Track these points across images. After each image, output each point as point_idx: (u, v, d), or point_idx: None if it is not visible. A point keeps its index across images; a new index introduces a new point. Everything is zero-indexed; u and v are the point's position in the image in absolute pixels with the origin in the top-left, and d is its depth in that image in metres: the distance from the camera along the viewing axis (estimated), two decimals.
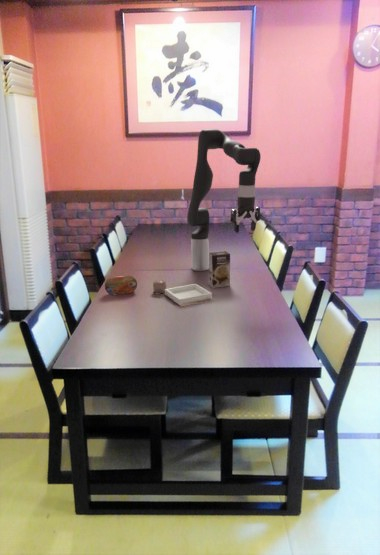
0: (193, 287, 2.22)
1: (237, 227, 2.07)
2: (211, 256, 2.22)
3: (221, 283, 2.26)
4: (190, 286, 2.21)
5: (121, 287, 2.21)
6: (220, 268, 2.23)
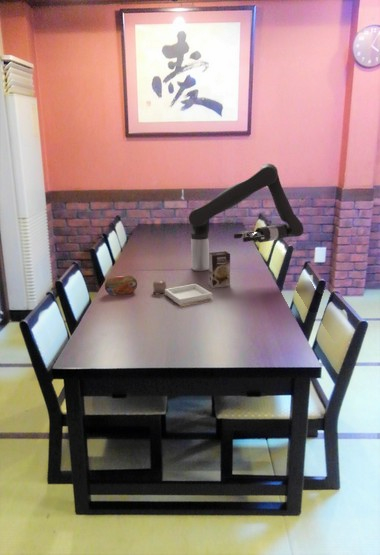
0: (193, 287, 2.22)
1: (248, 240, 2.24)
2: (211, 256, 2.22)
3: (222, 283, 2.26)
4: (190, 286, 2.21)
5: (121, 287, 2.21)
6: (220, 268, 2.23)
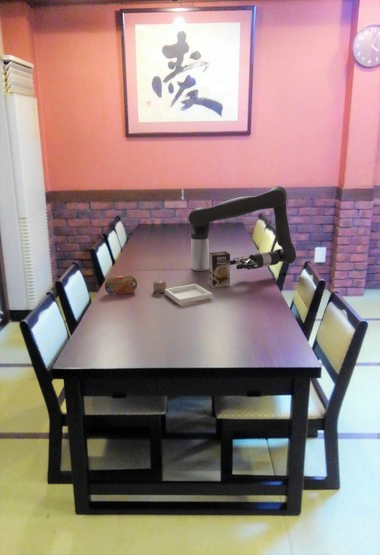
0: (193, 287, 2.22)
1: None
2: (211, 256, 2.22)
3: (221, 283, 2.26)
4: (190, 286, 2.21)
5: (121, 287, 2.21)
6: (220, 268, 2.23)
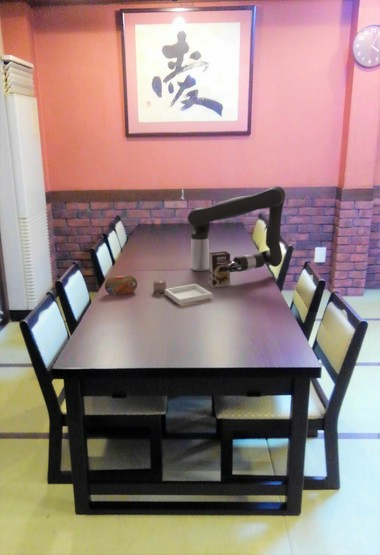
0: (193, 287, 2.22)
1: None
2: (211, 256, 2.22)
3: (221, 283, 2.26)
4: (190, 286, 2.21)
5: (121, 287, 2.21)
6: None
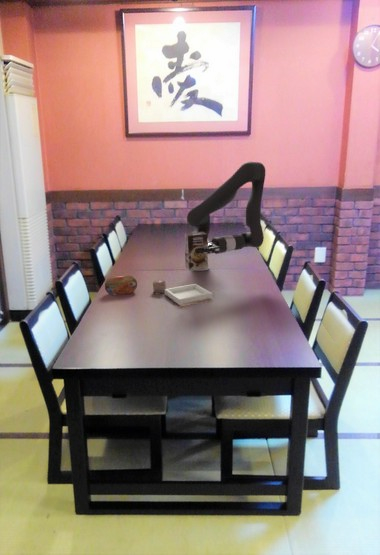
0: (193, 287, 2.22)
1: (201, 252, 2.07)
2: (187, 236, 2.06)
3: (199, 266, 2.10)
4: (190, 286, 2.21)
5: (121, 287, 2.21)
6: None
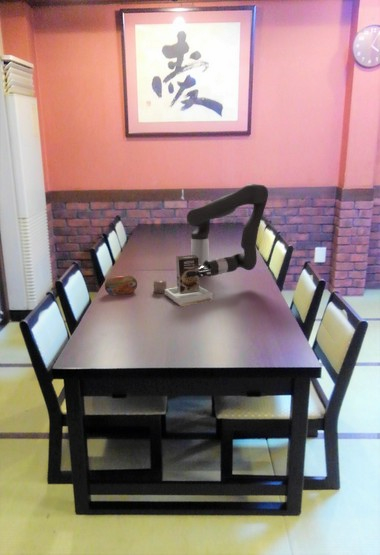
0: None
1: (192, 276, 2.07)
2: (178, 260, 2.06)
3: (190, 289, 2.09)
4: None
5: (121, 287, 2.21)
6: None
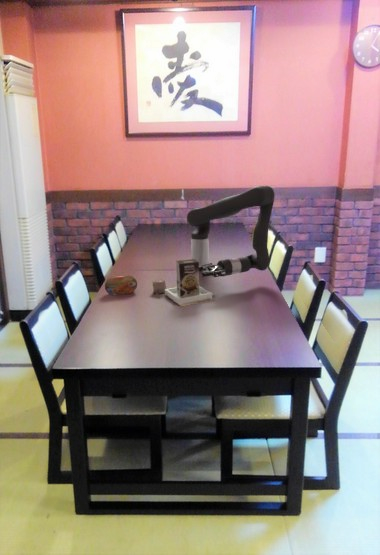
0: None
1: (207, 276, 2.10)
2: (178, 264, 2.06)
3: (190, 294, 2.10)
4: None
5: (121, 287, 2.21)
6: (188, 277, 2.07)
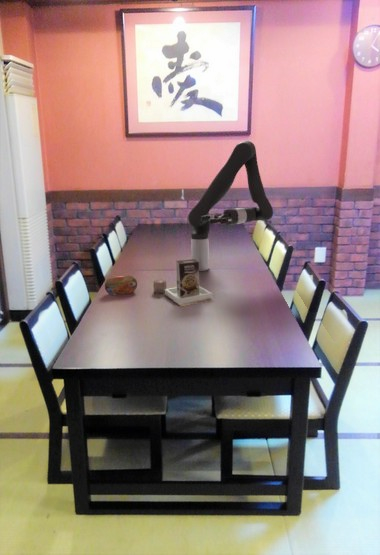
0: None
1: (214, 222, 2.18)
2: (178, 264, 2.06)
3: (190, 294, 2.10)
4: None
5: (121, 287, 2.21)
6: (188, 277, 2.07)
